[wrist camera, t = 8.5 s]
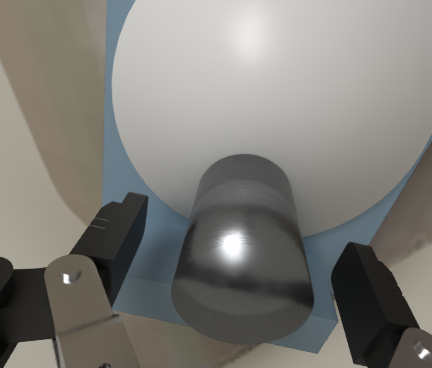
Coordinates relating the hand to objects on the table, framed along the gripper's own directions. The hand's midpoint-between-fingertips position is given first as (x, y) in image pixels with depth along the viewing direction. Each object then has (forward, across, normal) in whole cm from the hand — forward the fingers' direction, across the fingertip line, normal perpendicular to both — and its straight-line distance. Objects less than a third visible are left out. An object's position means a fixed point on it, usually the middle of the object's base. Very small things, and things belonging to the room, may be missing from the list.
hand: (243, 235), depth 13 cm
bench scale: (+7, 0, -2) cm, 8 cm away
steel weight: (+3, 0, 0) cm, 3 cm away
